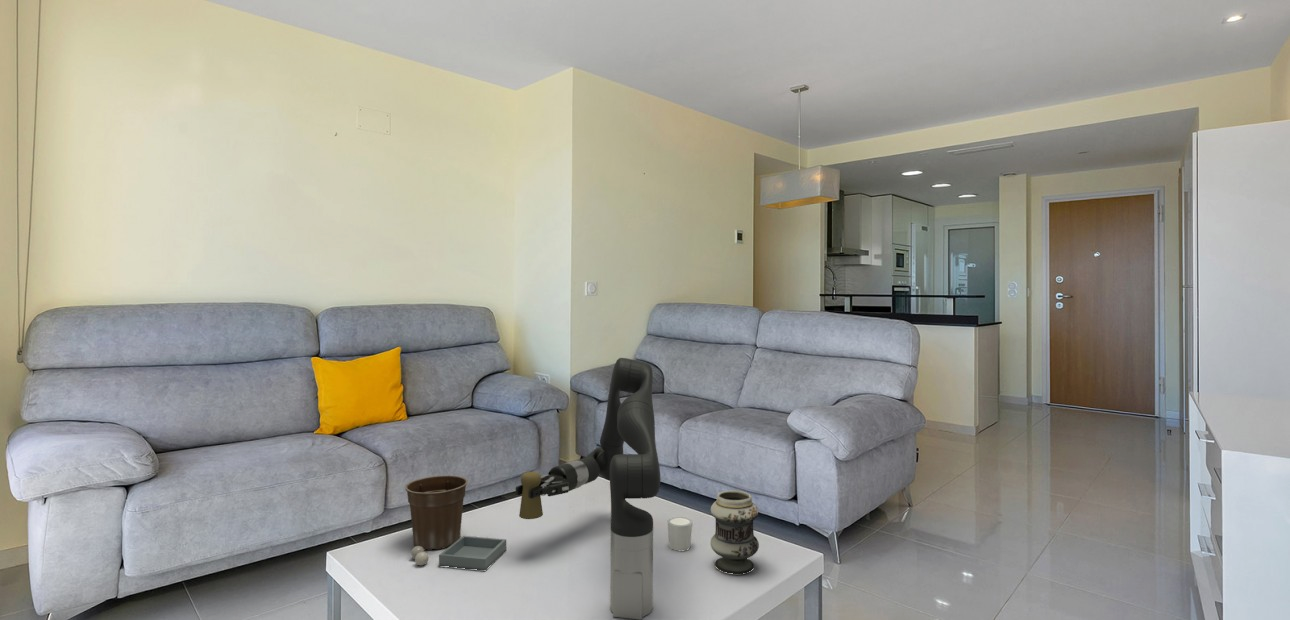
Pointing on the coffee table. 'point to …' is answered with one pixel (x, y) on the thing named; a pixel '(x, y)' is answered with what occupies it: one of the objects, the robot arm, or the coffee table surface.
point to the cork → (528, 505)
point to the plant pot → (436, 510)
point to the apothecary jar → (734, 531)
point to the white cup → (679, 533)
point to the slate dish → (473, 552)
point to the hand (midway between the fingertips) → (523, 492)
